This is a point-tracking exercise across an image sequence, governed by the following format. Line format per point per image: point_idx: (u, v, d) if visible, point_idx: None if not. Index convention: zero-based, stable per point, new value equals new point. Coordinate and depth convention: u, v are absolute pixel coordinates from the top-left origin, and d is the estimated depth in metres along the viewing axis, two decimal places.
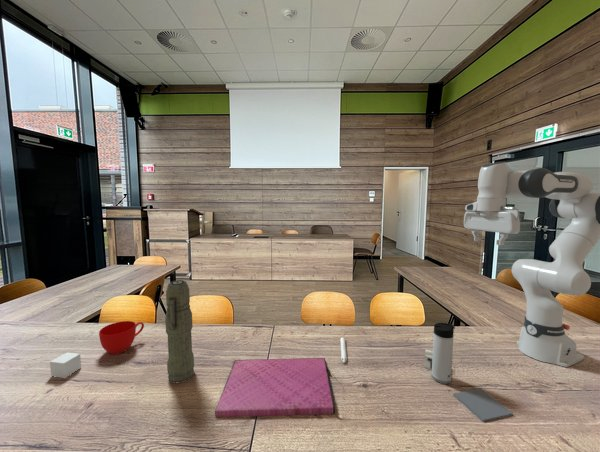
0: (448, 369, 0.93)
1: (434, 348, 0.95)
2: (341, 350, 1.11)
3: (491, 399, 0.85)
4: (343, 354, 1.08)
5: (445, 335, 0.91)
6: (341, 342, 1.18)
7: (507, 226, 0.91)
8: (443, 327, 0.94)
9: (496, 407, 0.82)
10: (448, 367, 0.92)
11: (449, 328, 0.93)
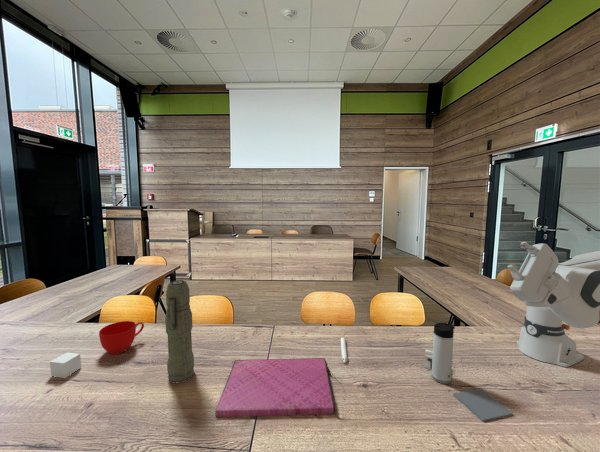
0: (448, 369, 0.93)
1: (434, 348, 0.95)
2: (341, 350, 1.11)
3: (491, 399, 0.85)
4: (343, 354, 1.08)
5: (445, 335, 0.91)
6: (341, 342, 1.18)
7: None
8: (443, 327, 0.94)
9: (496, 407, 0.82)
10: (448, 367, 0.92)
11: (449, 328, 0.93)
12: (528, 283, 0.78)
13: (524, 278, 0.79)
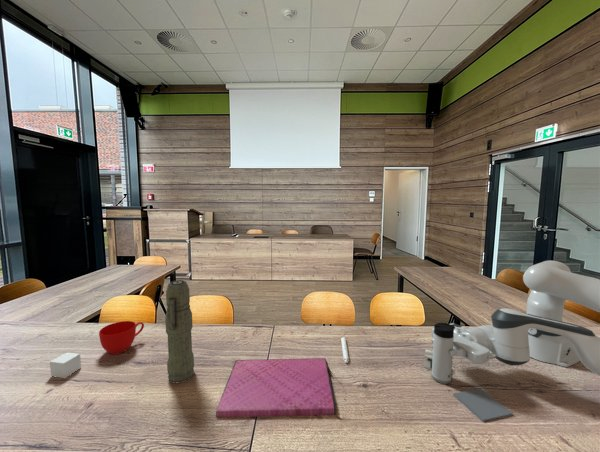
0: (448, 369, 0.93)
1: (434, 348, 0.95)
2: (343, 350, 1.11)
3: (491, 399, 0.85)
4: (345, 354, 1.08)
5: (445, 335, 0.91)
6: (342, 342, 1.18)
7: (478, 351, 0.89)
8: (443, 327, 0.94)
9: (496, 407, 0.82)
10: (448, 367, 0.92)
11: (449, 328, 0.93)
12: None
13: None
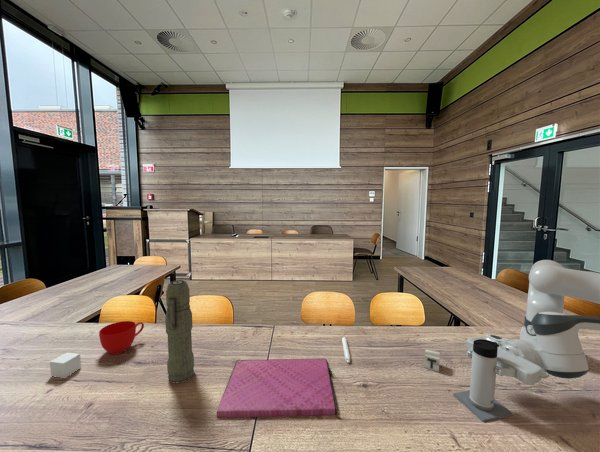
0: (491, 394, 0.80)
1: (474, 369, 0.82)
2: (344, 350, 1.11)
3: None
4: (347, 354, 1.08)
5: (489, 354, 0.79)
6: (343, 342, 1.18)
7: (529, 369, 0.76)
8: (484, 345, 0.82)
9: (496, 407, 0.82)
10: (491, 391, 0.79)
11: (492, 346, 0.81)
12: None
13: None
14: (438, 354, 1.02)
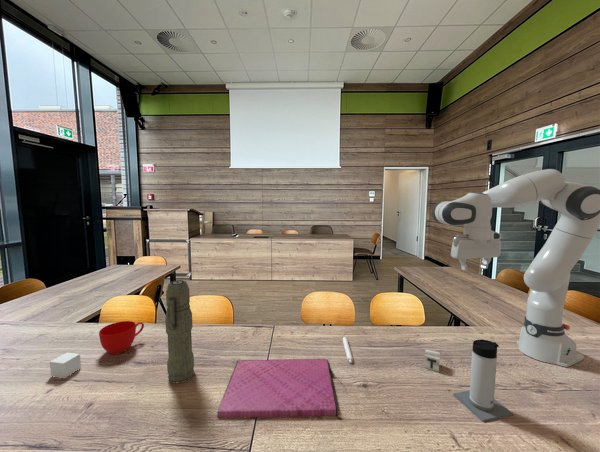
0: (491, 394, 0.80)
1: (473, 369, 0.82)
2: (346, 350, 1.11)
3: None
4: (349, 354, 1.08)
5: (488, 355, 0.79)
6: (344, 342, 1.18)
7: None
8: (484, 345, 0.81)
9: (496, 407, 0.82)
10: (490, 391, 0.79)
11: (491, 346, 0.81)
12: (493, 254, 1.04)
13: (490, 257, 1.04)
14: (438, 354, 1.02)
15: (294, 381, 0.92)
